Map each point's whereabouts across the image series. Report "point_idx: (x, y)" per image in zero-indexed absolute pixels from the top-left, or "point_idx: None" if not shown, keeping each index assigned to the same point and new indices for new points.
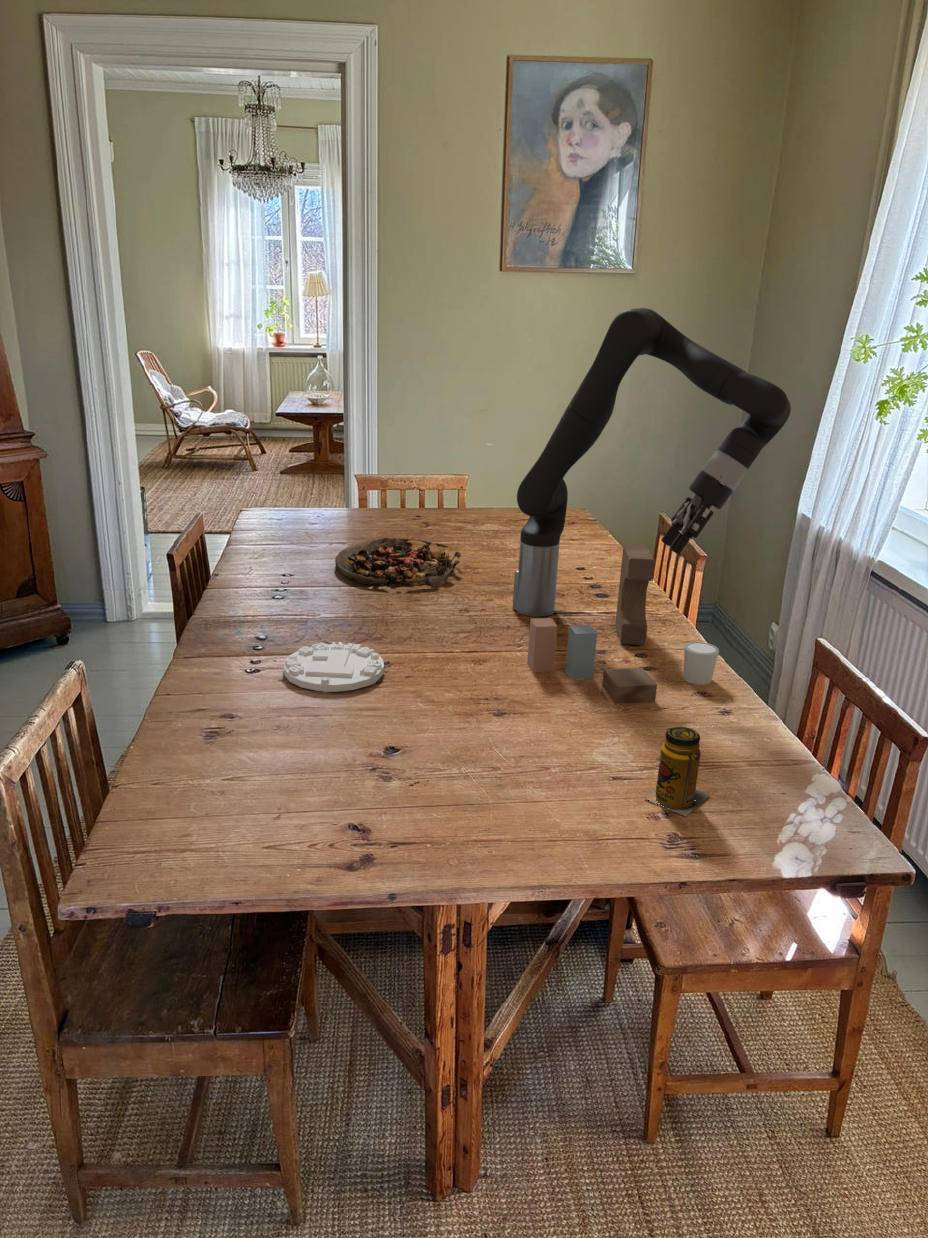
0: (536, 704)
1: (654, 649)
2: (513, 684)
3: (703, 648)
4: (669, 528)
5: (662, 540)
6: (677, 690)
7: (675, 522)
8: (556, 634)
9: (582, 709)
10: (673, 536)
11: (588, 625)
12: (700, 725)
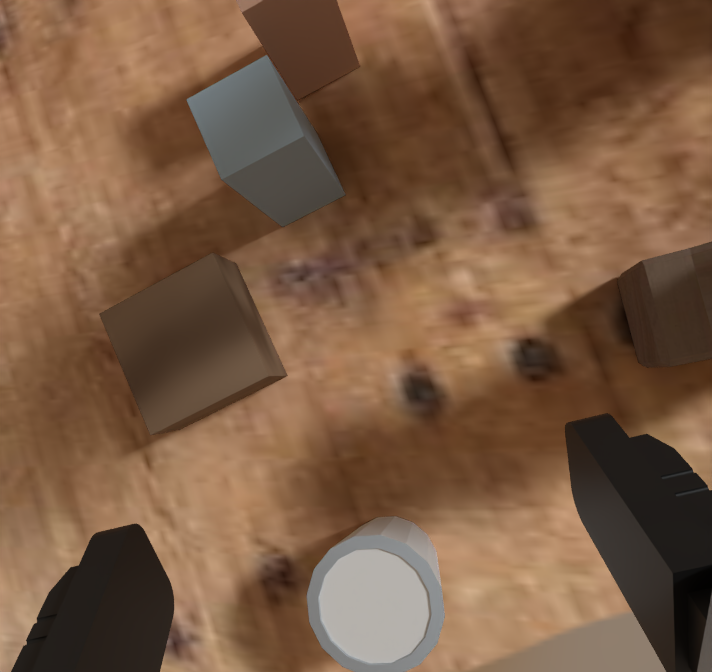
0: (68, 109)
1: (616, 405)
2: (168, 14)
3: (375, 612)
4: (677, 526)
5: (568, 427)
6: (280, 496)
7: (705, 655)
8: (254, 31)
9: (75, 233)
10: (623, 568)
11: (292, 129)
12: (74, 562)
